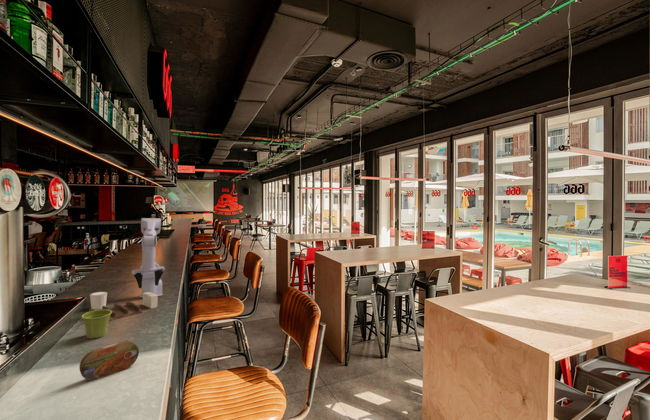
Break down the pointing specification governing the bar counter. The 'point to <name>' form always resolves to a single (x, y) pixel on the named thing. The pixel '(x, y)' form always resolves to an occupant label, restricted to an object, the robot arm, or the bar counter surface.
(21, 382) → the bar counter surface
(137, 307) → the rack
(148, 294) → the cream rectangular block
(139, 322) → the bar counter surface
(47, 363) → the bar counter surface
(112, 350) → the tin
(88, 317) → the plant pot
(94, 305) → the shot glass
